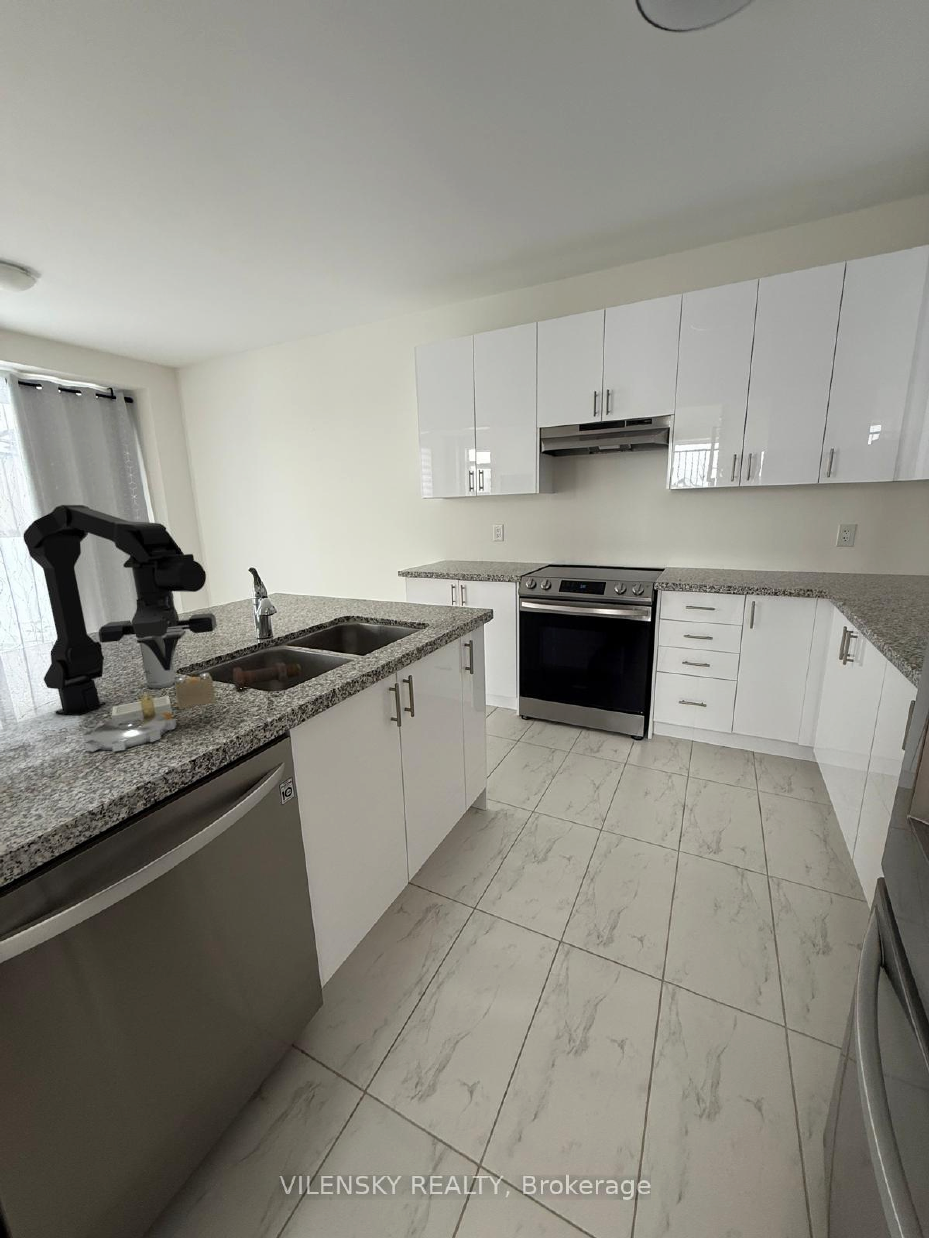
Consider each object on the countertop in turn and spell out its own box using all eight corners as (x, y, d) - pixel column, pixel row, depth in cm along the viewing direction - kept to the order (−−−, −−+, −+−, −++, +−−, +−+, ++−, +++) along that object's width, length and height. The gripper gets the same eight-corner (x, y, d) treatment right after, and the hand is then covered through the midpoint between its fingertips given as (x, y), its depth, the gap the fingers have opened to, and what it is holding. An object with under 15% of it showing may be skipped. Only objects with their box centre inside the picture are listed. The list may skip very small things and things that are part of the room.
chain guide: (114, 726, 99) (112, 715, 98) (114, 716, 104) (113, 706, 103) (172, 713, 104) (170, 703, 104) (170, 705, 109) (168, 695, 109)
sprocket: (63, 750, 88) (56, 720, 87) (131, 717, 102) (126, 690, 101) (132, 755, 85) (126, 723, 84) (193, 720, 99) (188, 693, 98)
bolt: (301, 684, 125) (236, 696, 117) (296, 670, 128) (232, 681, 120) (303, 667, 122) (236, 678, 114) (297, 654, 125) (232, 663, 117)
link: (179, 709, 106) (174, 681, 105) (178, 705, 109) (173, 677, 108) (215, 702, 110) (211, 674, 109) (213, 697, 113) (209, 671, 112)
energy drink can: (149, 684, 124) (138, 625, 121) (176, 679, 127) (166, 622, 124) (146, 691, 119) (135, 630, 116) (175, 686, 121) (165, 626, 118)
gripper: (78, 602, 84) (96, 690, 87) (201, 592, 89) (214, 675, 93) (102, 593, 94) (117, 672, 97) (211, 585, 100) (222, 659, 103)
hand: (167, 669), depth 97 cm, fingers closed
